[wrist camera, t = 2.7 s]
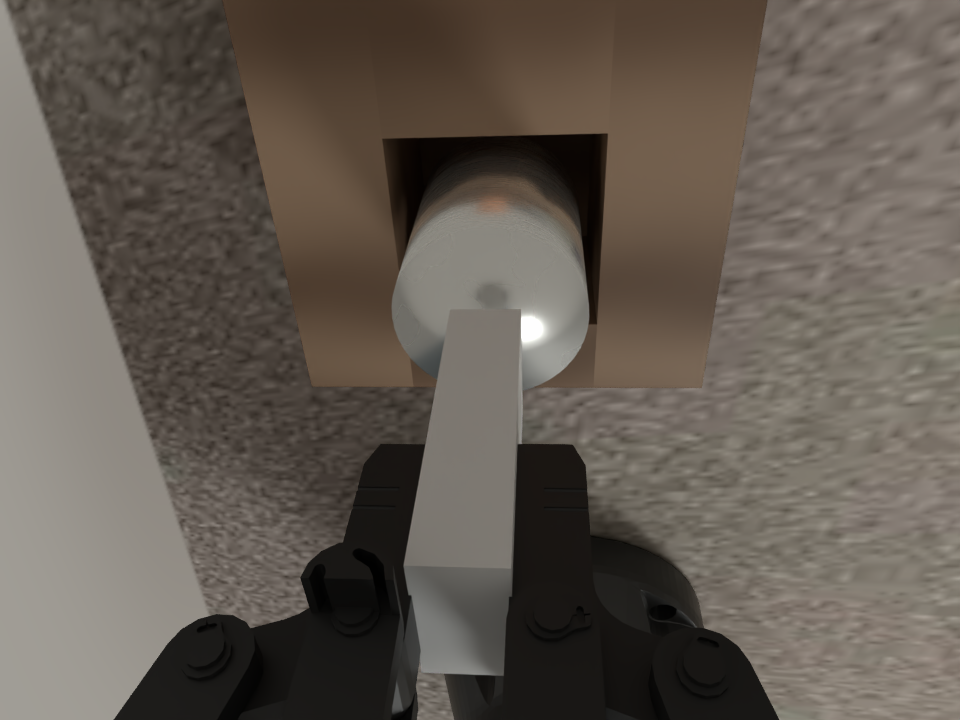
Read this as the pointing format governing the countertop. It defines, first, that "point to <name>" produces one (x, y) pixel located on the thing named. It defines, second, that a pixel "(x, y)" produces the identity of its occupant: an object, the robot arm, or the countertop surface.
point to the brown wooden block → (502, 112)
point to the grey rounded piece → (496, 254)
